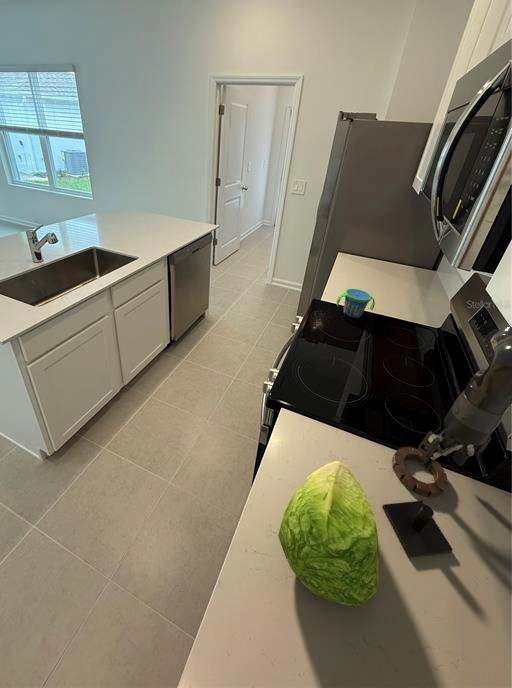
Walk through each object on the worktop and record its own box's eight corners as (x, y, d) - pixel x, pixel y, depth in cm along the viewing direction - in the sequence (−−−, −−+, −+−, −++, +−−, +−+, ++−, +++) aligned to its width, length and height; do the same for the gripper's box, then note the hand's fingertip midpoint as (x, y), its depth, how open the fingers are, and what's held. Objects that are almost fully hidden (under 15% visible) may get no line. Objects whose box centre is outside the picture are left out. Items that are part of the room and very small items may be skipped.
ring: (422, 450, 79) (425, 445, 78) (455, 494, 69) (459, 489, 68) (383, 453, 77) (385, 448, 76) (410, 499, 68) (414, 494, 67)
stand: (419, 503, 67) (432, 484, 64) (450, 552, 60) (467, 534, 56) (381, 507, 66) (392, 488, 62) (408, 557, 58) (422, 539, 55)
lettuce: (378, 505, 67) (388, 454, 62) (374, 644, 47) (388, 584, 42) (300, 477, 74) (303, 429, 70) (268, 586, 54) (269, 529, 49)
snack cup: (368, 310, 140) (374, 291, 135) (372, 323, 131) (380, 302, 126) (332, 305, 142) (338, 286, 137) (335, 317, 133) (340, 297, 128)
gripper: (457, 433, 59) (424, 482, 67) (520, 429, 61) (480, 476, 69) (430, 403, 66) (402, 450, 74) (487, 400, 68) (455, 446, 76)
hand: (440, 463), depth 71 cm, fingers open, 8 cm apart
